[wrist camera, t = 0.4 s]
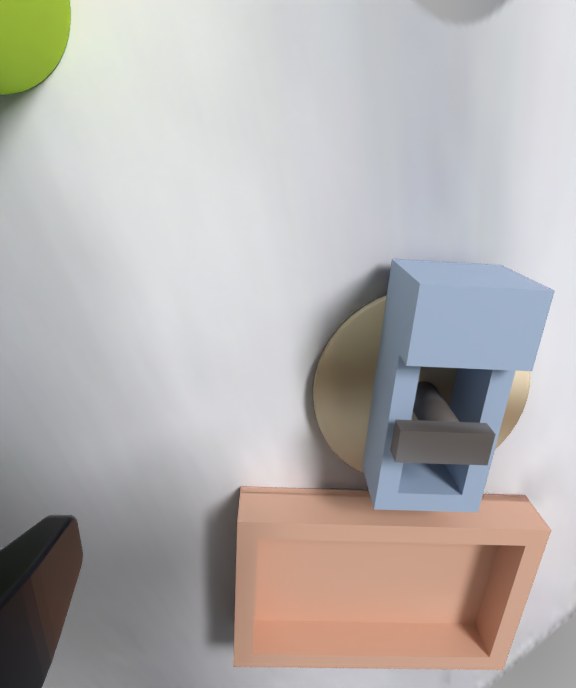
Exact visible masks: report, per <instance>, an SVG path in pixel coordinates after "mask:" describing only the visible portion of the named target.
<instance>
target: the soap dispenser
mask: <svg viewBox="0 0 576 688" xmlns="http://www.w3.org/2000/svg"><path fill="white" fill-rule="evenodd" d="M70 21H71V11H70V0H0V94H13V93H18V92H22V91H25V90H28V89H30V88H32V87H34V86H36V85H37V84H39V83H40V82H42V81H43V80H44V79H45V78H46V77H48V76H49V75H50V73H51V72H52V71H53V70H54V69H55V67H56V66H57V64H58V63H59V61H60V59H61V57H62V55H63V53H64V50H65V48H66V45H67V41H68V37H69V31H70Z"/></svg>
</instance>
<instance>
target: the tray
mask: <svg viewBox="0 0 576 688" xmlns="http://www.w3.org/2000/svg"><path fill="white" fill-rule="evenodd" d="M550 532H551V529H550V528H549V527H548V525H547V524H546V523H545V521H544V520H543V519H542V517H541V516H540V514H539V513H538V512H537V510H536V509H535V508H534V506H533V505H532V504H531V502H530V501H529V500H528V498H527V497H526V496H525V495H500V494H483V496H482V499H481V503H480V507H479V511H478V512H445V511H411V510H376V509H374V507H373V503H372V500H371V496H370V493H369V490H338V489H305V488H273V487H241V489H240V499H239V509H238V520H237V551H236V589H235V627H234V665H233V667H298V668H382V669H466V670H503V669H504V666H505V663H506V660H507V657H508V654H509V651H510V648H511V646H512V643H513V640H514V637H515V634H516V631H517V628H518V625H519V622H520V619H521V617H522V614H523V611H524V608H525V605H526V602H527V599H528V596H529V593H530V590H531V588H532V585H533V582H534V579H535V576H536V573H537V570H538V567H539V564H540V561H541V559H542V556H543V553H544V550H545V547H546V544H547V541H548V538H549V535H550Z"/></svg>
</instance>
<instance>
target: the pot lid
mask: <svg viewBox="0 0 576 688" xmlns="http://www.w3.org/2000/svg"><path fill="white" fill-rule="evenodd" d="M386 297H387V295H385V296H383V297H380V298H378V299H376V300H374V301H372V302H371V303H369V304H367V305H365V306H364V307H362V308H361V309H359V310H358V311H357V312H355V313H354V314H353V315H351V316H350V317H349V318H348V319H347V320H346V321H345V322H344V323H343V324H342V325H341V326H340V327H339V328H338V330H337V331H336V332H335V333H334V334H333V336H332V337H331V339H330V340H329V342H328V343H327V345H326V346H325V348H324V350H323V353H322V355H321V357H320V359H319V362H318V365H317V368H316V371H315V377H314V383H313V400H314V408H315V414H316V418H317V422H318V425H319V428H320V430H321V432H322V434H323V437H324V438H325V440H326V441H327V443H328V444H329V446H330V448H331V449H332V450H333V451H334V452H335V453H336V454H337V455H338V456H339V457H340V458H341V459H342V460H343V461H344V462H346V463H347V464H348V465H350V466H351V467H353V468H354V469H356V470H357V471H360V472H362V473H364V472H363V468H362V464H363V457H364V450H365V443H366V436H367V429H368V422H369V415H370V408H371V401H372V394H373V387H374V381H375V374H376V367H377V360H378V353H379V346H380V339H381V332H382V325H383V318H384V311H385V304H386ZM457 369H458V368H445V367H423V366H421V369H420V374H419V380H418V385H417V391H416V396H415V401H414V407H413V412H412V418H411V420H396V419H395V425H394V431H393V437H392V443H391V449H390V451H391V453H392V456H393V458H394V461H395V462H400V463H429V464H459V465H488V462H489V458H490V454H491V450H492V446H493V442H494V439H495V435H496V434H495V433H494V432H493V430H492V429H491V428H490V427H489V425H488V424H487V423H474V422H459V420H458V419H457V417H456V416H455V415H454V413H453V412H452V410H451V409H450V407H449V406H450V401H451V397H452V392H453V387H454V383H455V378H456V373H457ZM530 375H531V373H530V371H516V372H515V375H514V379H513V383H512V387H511V390H510V394H509V398H508V402H507V405H506V409H505V413H504V417H503V420H502V424H501V428H500V432H499V436H498V439H497V443H496V447H495V449H496V448H497V447H498V446H499V445H500V444H501V443H502V442H503V441H504V440H505V439H506V437H507V436H508V435H509V434H510V432H511V431H512V430H513V428H514V427H515V425H516V424H517V422H518V420H519V418H520V416H521V414H522V412H523V409H524V407H525V404H526V401H527V397H528V393H529V388H530Z"/></svg>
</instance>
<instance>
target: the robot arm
mask: <svg viewBox="0 0 576 688" xmlns="http://www.w3.org/2000/svg"><path fill="white" fill-rule="evenodd" d="M82 558H83V552H82V545H81V540H80V534H79V528H78V523H77V520H76V518H75V517H74V516H72V515H50V516H47V517H46V518H44V519H43V520H41V521H40V522H39V523H37V524H36V525H35V526H33V527H32V528H31V529H29V530H28V531H26V532H25V533H24V534H22V535H21V536H20V537H18V538H17V539H16V540H14V541H13V542H11V543H10V544H9V545H7V546H6V547H5V548H3V549H2V550H1V551H0V688H42V686H43V683H44V681H45V678H46V676H47V673H48V670H49V668H50V665H51V663H52V660H53V657H54V654H55V650H56V647H57V644H58V641H59V638H60V634H61V631H62V628H63V625H64V621H65V618H66V615H67V611H68V608H69V605H70V602H71V598H72V595H73V592H74V588H75V585H76V582H77V579H78V575H79V572H80V569H81V565H82Z"/></svg>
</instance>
